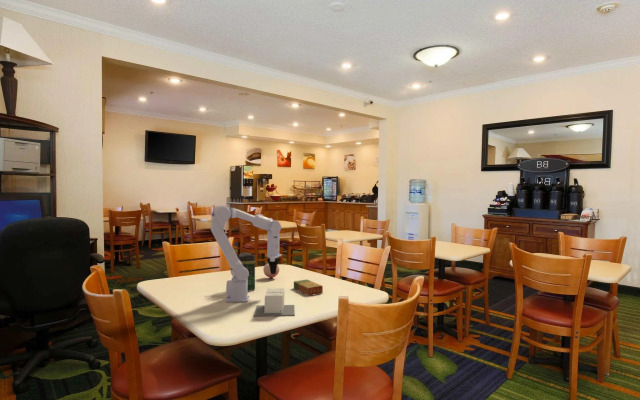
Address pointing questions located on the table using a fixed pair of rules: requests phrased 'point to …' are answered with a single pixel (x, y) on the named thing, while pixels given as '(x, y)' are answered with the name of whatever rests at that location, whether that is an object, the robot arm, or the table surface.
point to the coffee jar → (249, 268)
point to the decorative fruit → (267, 271)
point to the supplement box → (274, 301)
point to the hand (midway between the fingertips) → (273, 273)
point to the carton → (308, 287)
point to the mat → (287, 311)
